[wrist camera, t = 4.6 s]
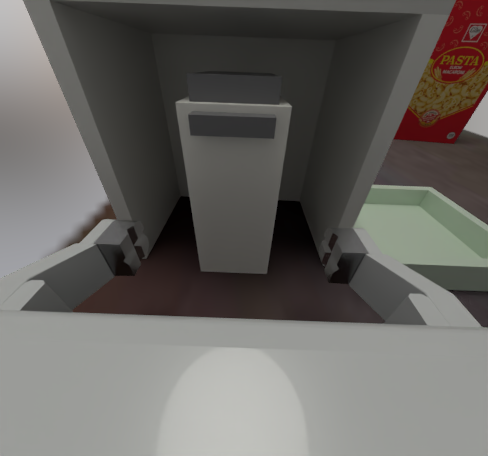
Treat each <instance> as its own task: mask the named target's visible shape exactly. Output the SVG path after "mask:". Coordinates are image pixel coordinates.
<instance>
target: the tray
mask: <svg viewBox="0 0 488 456" xmlns="http://www.w3.org/2000/svg"><path fill="white" fill-rule="evenodd" d="M353 228H363V229H365V230H366V231H367V232H368V234H369V235H370V237H371V238H372V239H373V241H374V242H375V244H376V245H377V247H378V248H379V249H380V251H381V252H382V254H385V255H388V256H390V257H392V258H393V259H395V260H397V261H398V262H400V263H402V264H403V265H405V266H407V267H408V268H410V269H412V270H413V271H415V272H417V273H418V274H420V275H422V276H424V277H425V278H427V279H429V280H430V281H432V282H434V283H435V284H437V285H439V286H440V287H442V288H444V289H445V290H465V291H488V225H487V224H485V223H484V222H482V221H481V220H479V219H478V218H476V217H475V216H473V215H472V214H470V213H469V212H467V211H466V210H464V209H463V208H461V207H460V206H458V205H457V204H455V203H454V202H452V201H451V200H449V199H448V198H446V197H445V196H444V195H442V194H441V193H439V192H438V191H436V190H435V189H433V188H432V187H414V186H389V185H372V187H371V189H370V191H369V194H368V196H367V198H366V200H365V203H364V205H363V207H362V209H361V211H360V214H359V216H358V218H357V220H356V222H355V225H354V227H353Z"/></svg>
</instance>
